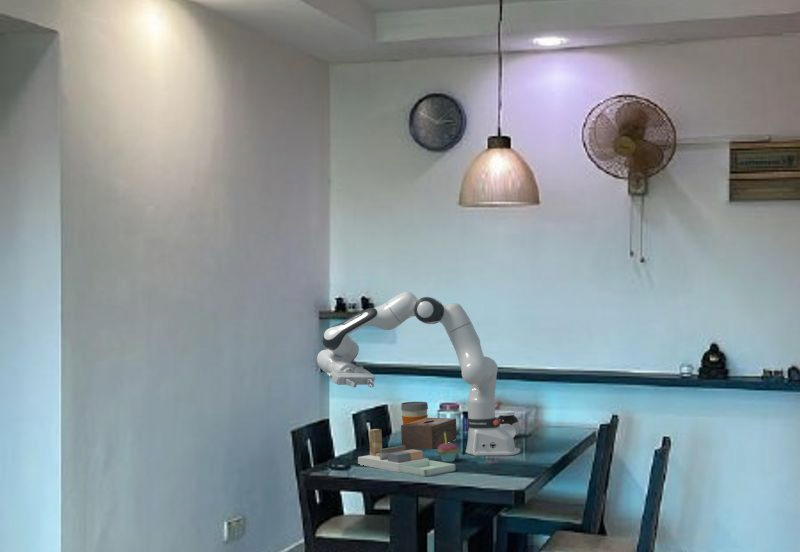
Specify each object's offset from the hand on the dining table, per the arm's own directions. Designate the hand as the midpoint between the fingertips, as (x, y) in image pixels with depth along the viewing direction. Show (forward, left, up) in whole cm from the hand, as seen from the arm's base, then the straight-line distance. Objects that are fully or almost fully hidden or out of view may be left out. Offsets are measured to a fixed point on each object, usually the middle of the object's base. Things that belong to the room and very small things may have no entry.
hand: (363, 385), depth 427 cm
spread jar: (-44, -60, -30) cm, 81 cm away
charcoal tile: (-22, +21, -26) cm, 40 cm away
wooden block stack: (-12, +12, -26) cm, 31 cm away
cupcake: (-35, +1, -30) cm, 46 cm away
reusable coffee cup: (+1, -63, -30) cm, 70 cm away
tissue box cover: (-14, -39, -30) cm, 52 cm away
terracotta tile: (-25, +15, -26) cm, 40 cm away
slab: (-17, +15, -29) cm, 37 cm away
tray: (-34, +25, -29) cm, 52 cm away
